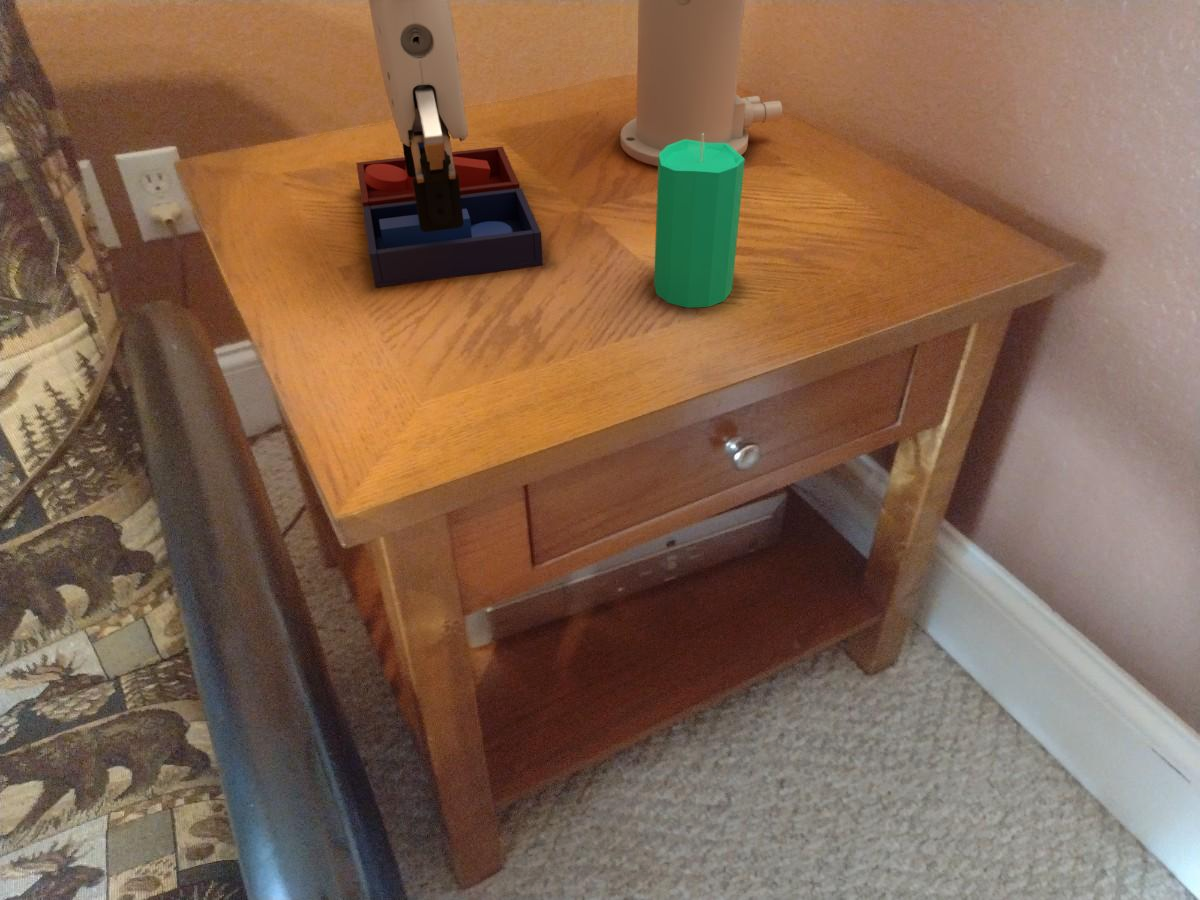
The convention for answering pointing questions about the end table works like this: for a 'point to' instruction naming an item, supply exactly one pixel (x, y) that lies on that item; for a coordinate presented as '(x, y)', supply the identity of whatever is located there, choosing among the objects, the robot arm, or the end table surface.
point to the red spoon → (398, 179)
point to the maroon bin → (498, 180)
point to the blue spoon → (409, 231)
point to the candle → (697, 222)
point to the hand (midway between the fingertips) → (434, 199)
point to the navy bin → (457, 241)
